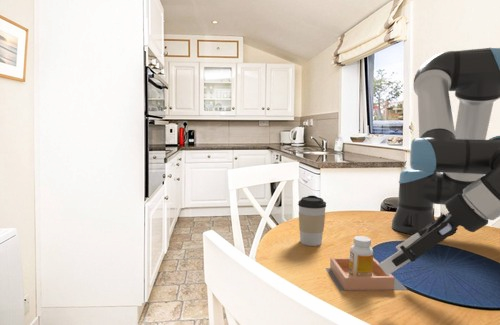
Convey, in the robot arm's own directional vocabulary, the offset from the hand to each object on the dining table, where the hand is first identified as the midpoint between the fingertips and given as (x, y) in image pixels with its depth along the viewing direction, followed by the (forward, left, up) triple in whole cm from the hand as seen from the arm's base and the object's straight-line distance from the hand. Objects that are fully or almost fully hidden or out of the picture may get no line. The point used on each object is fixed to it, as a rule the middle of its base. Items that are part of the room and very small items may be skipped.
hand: (391, 259), depth 76 cm
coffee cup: (+11, -32, -7) cm, 35 cm away
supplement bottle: (+5, -5, -6) cm, 10 cm away
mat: (+4, -5, -7) cm, 10 cm away
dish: (+5, -5, -7) cm, 10 cm away
